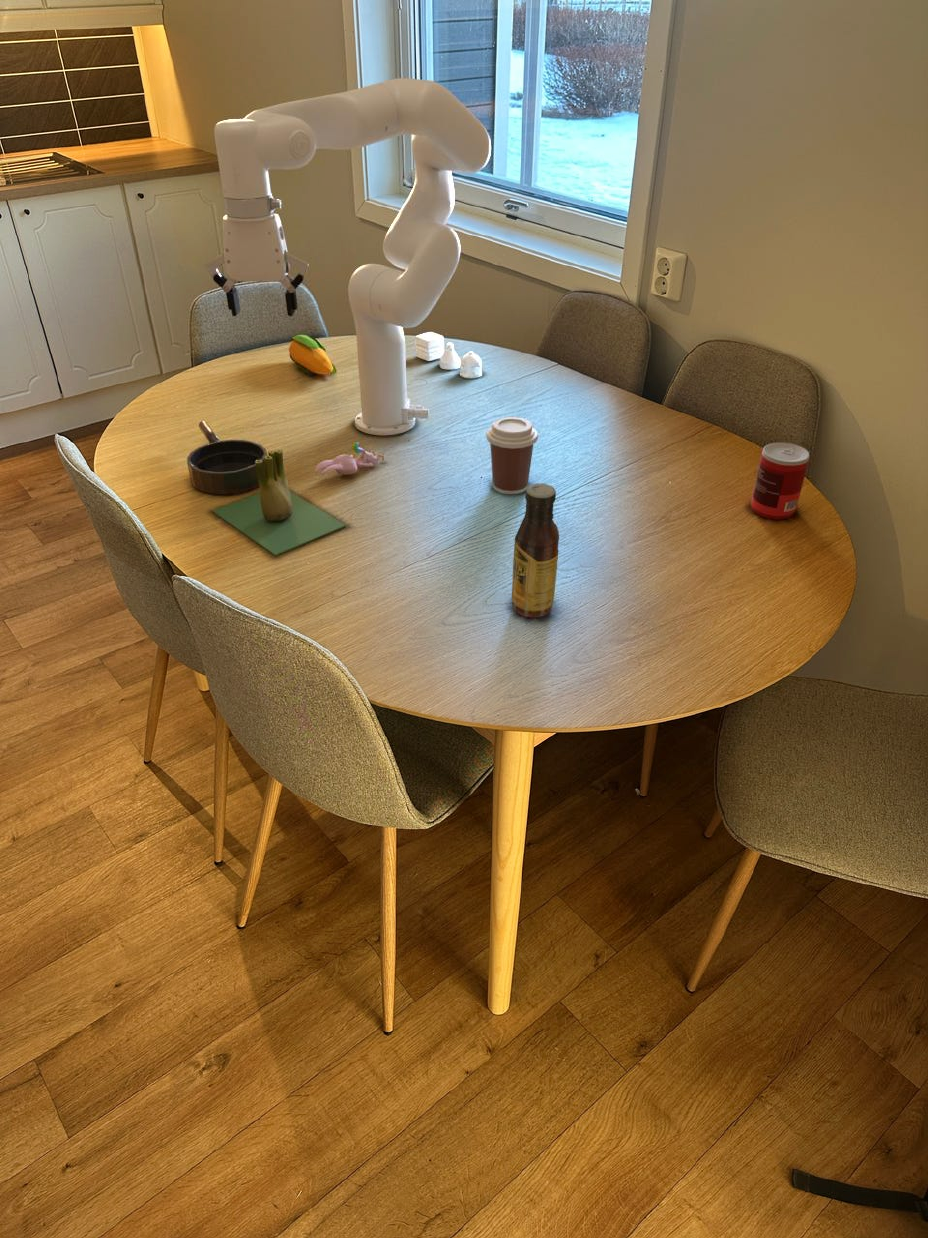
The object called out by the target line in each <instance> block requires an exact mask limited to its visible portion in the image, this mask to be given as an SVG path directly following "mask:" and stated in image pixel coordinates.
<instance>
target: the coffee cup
mask: <svg viewBox="0 0 928 1238" xmlns="http://www.w3.org/2000/svg"><path fill="white" fill-rule="evenodd" d="M533 426H534V425H533V424H532V422H531V421H529V420H528V419H526V418H522V417H518V416H517V417H516V416H505V417H501V418H498V419H496V420H494V421H493V423H492V426H491V427H490V428H488V430H487V432H486V435H485V437H486V440H487V442H488V443H489V444H490V460H491V476H492V477H491V478H492V487H493V490H495V491H496V492H498V493H501V494H504V495H517V494H521V493H523V492H526V489H527V488H528V487H529V479H530V472H531V465H532V457H533V451H534V450H533V449H534V444H535V443H537V441H538V439H539V434H538V432H537V430H536V429H535V428H533Z"/></svg>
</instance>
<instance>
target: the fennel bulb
mask: <svg viewBox="0 0 928 1238" xmlns="http://www.w3.org/2000/svg"><path fill="white" fill-rule="evenodd" d="M255 465H256V470H257V475H258V481H259V486H258V489H259V493H260V505H261V510H262V513H263V516H264V518H265V519H266V520H267V521H283V520H286V519H288V518H289V517H290V516H291V515H292V512H293V511H292V505H291V496H290V492H291V490H290V487H289V483H288V480H287V477H286V473H285V467H284V465H285V464H284V451H283V450H282V449H276V450H270V451H267V455H266V456H265V469H264V465H263V461H261V460H256V461H255Z"/></svg>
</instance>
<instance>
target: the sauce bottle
mask: <svg viewBox="0 0 928 1238" xmlns="http://www.w3.org/2000/svg"><path fill="white" fill-rule="evenodd" d="M556 495H557V491H556V489H555V487H554V486H552V485H550V484H547V483H541V482H539V483H532V484H531V485H528V487H527V489H526V490H525V496H524V498H525V501H526V503H525V512H524V517H523V518H522V521H521V523H520V525H519V528H518V530H517V532H516V534H515V536H514V546H513V547H514V548H513V560H512V561H513V564H512V581H511V582H512V583H511V601H512V602H511V605H512V608H513V610H514V611H515V612H516V613H517V614H518V615H520V616H521V617H524V618H532V619H534V618H535V619H536V618H542V617H544V616H547V615H548V614H550V613H551V611H552V609H553V605H554V603H555V592H556V582H557V574H558V573H557V570H558V563H559V562H558V561H559V551H560V550H559V541H560V532H559V529H558V525H557V524H556V523H555V522H554V520H553V519H554V504H555V501H556Z"/></svg>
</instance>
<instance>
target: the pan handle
mask: <svg viewBox="0 0 928 1238" xmlns="http://www.w3.org/2000/svg"><path fill="white" fill-rule="evenodd" d="M198 428H199V430H200V431H201V433H202V434H203V435H204V437H205V438H206V440H207V441H208V444H209V443H213V442H217V441H221V440H220V439H219V438H218V436H217V435H216V433H215V431H213V429H212V428H211V427H210V425H209V424H208V422H206V421H204V420H202V421H199V423H198Z"/></svg>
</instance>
